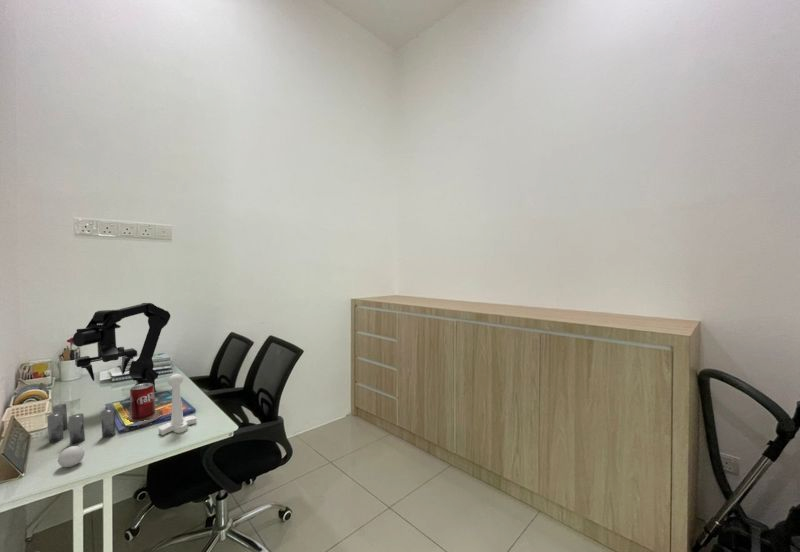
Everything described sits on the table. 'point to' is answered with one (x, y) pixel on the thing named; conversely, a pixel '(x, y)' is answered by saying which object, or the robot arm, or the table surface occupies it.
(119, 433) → the table surface
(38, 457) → the table surface
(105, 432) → the posts
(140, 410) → the soda can
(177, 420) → the joystick
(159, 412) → the walnut pad
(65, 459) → the white egg
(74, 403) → the table surface
